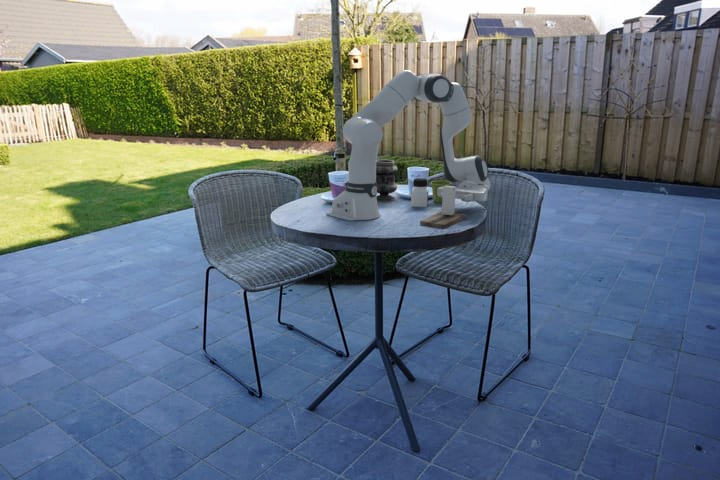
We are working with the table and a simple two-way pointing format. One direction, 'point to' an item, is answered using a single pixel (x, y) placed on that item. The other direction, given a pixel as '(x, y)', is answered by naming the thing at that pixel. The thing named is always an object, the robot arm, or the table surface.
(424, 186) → the medicine bottle
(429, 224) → the slider board
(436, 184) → the plant pot
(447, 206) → the white upright block
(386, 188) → the dark footed urn
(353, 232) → the table surface
